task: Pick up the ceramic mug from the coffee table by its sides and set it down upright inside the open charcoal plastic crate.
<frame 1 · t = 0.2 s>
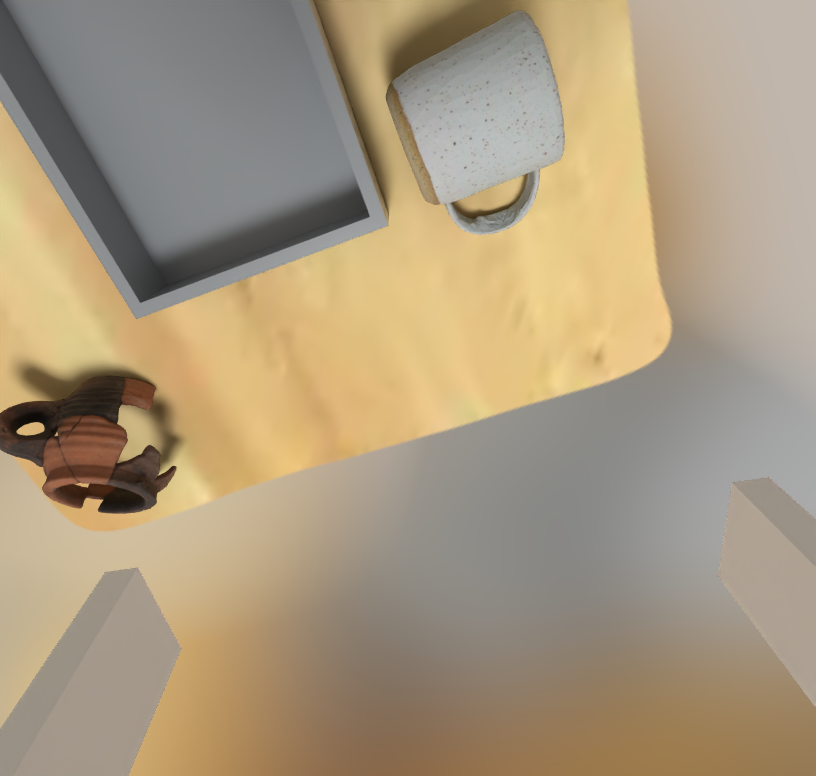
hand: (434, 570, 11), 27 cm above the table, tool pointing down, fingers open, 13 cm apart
pottery mug: (115, 422, 40), on the table
ceramic mug: (475, 142, 32), on the table
crate: (199, 92, 30), on the table
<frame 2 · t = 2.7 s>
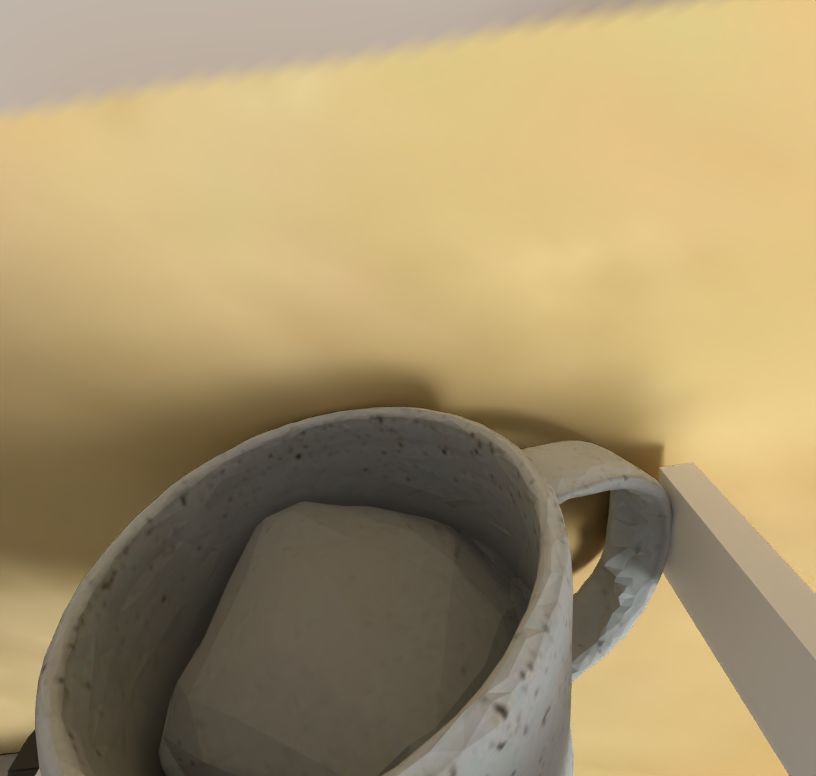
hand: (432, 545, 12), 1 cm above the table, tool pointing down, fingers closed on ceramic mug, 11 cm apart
ceramic mug: (422, 519, 13), on the table, touching gripper
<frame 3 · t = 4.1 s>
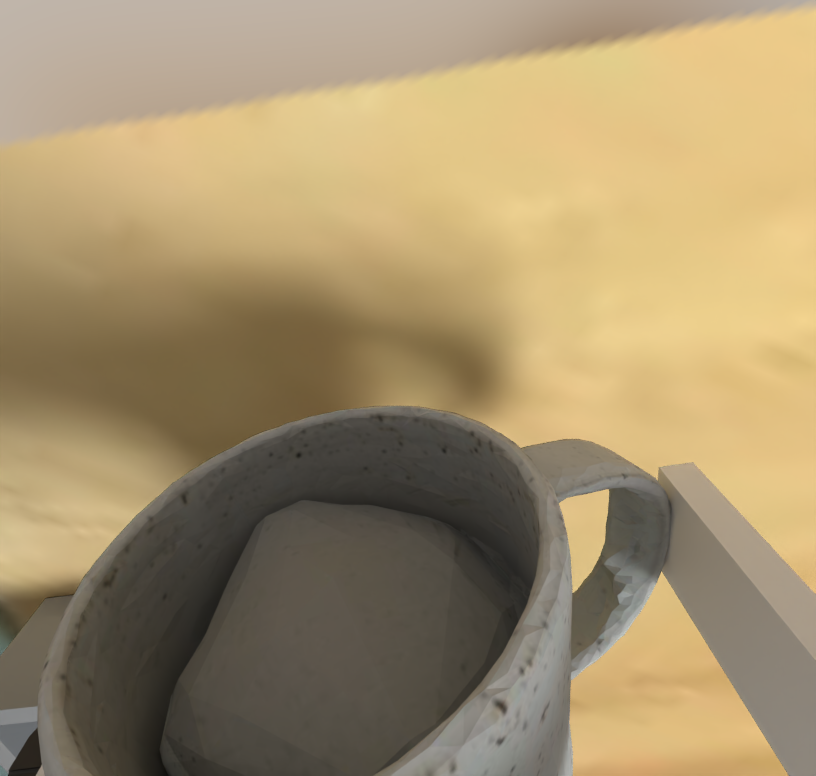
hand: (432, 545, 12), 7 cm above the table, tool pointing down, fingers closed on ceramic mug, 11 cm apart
ceramic mug: (422, 518, 13), point 6 cm above the table, touching gripper
crate: (319, 691, 25), on the table
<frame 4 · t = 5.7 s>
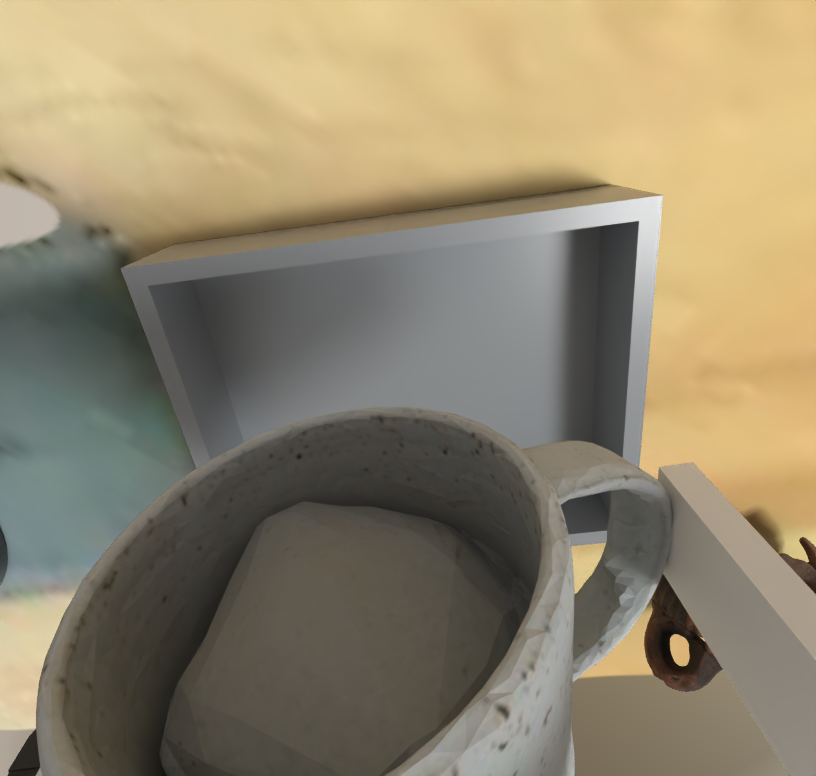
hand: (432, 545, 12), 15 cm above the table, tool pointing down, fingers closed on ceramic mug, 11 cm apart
pottery mug: (697, 564, 34), on the table
ceramic mug: (422, 519, 13), point 15 cm above the table, touching gripper
crate: (410, 376, 27), on the table
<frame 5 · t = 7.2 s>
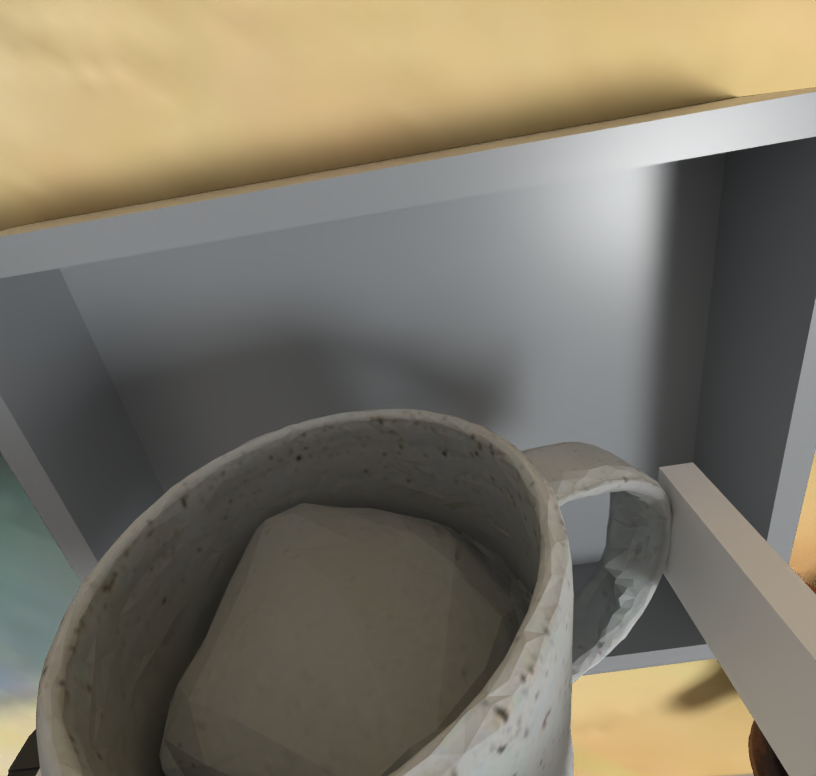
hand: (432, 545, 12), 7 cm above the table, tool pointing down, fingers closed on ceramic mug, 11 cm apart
pottery mug: (811, 637, 25), on the table
ceramic mug: (422, 520, 13), point 6 cm above the table, touching gripper
crate: (418, 411, 18), on the table
when the fingers open (3 cm above the table, at t = 8.4 s): ceramic mug drops 2 cm, resting on crate.
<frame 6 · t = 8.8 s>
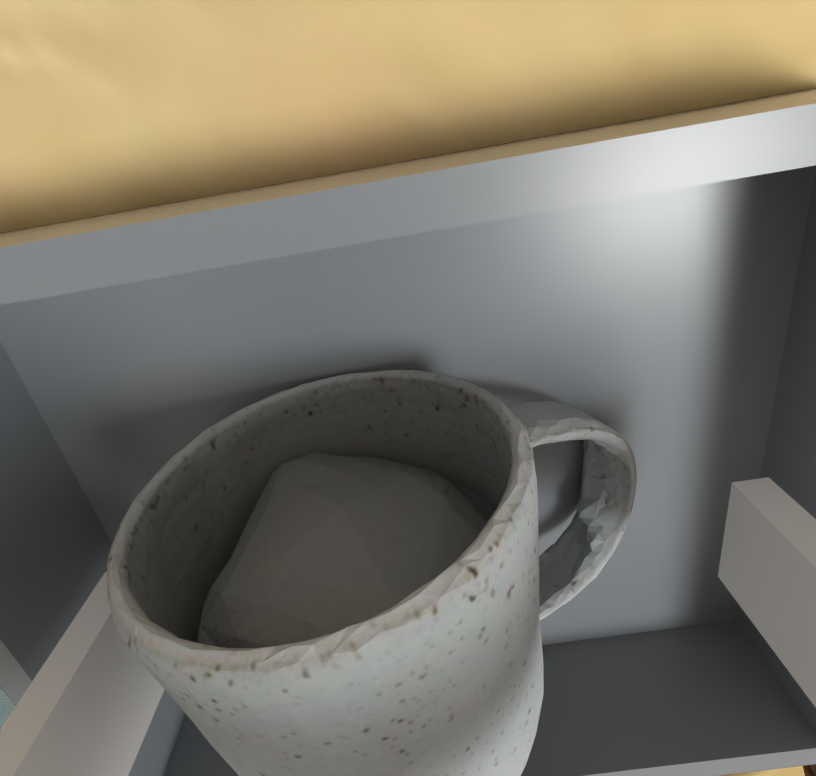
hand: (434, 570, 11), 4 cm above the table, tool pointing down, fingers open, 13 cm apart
ceramic mug: (418, 475, 14), point 1 cm above the table, touching crate
crate: (424, 463, 15), on the table
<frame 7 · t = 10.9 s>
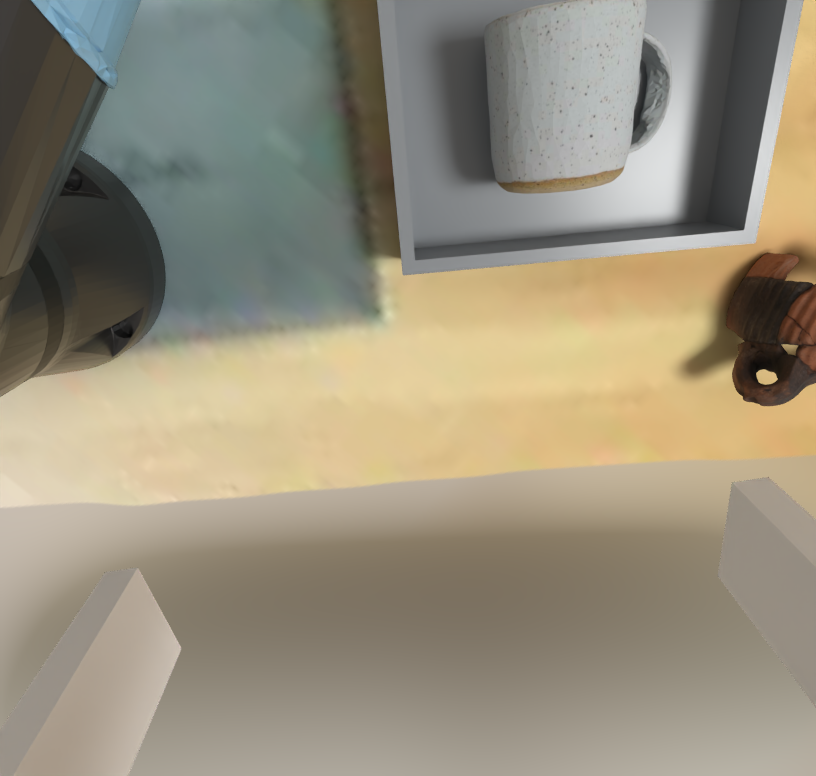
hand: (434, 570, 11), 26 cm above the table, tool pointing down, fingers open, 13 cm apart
pottery mug: (777, 316, 37), on the table
ceramic mug: (564, 99, 30), point 1 cm above the table, touching crate
crate: (558, 105, 31), on the table
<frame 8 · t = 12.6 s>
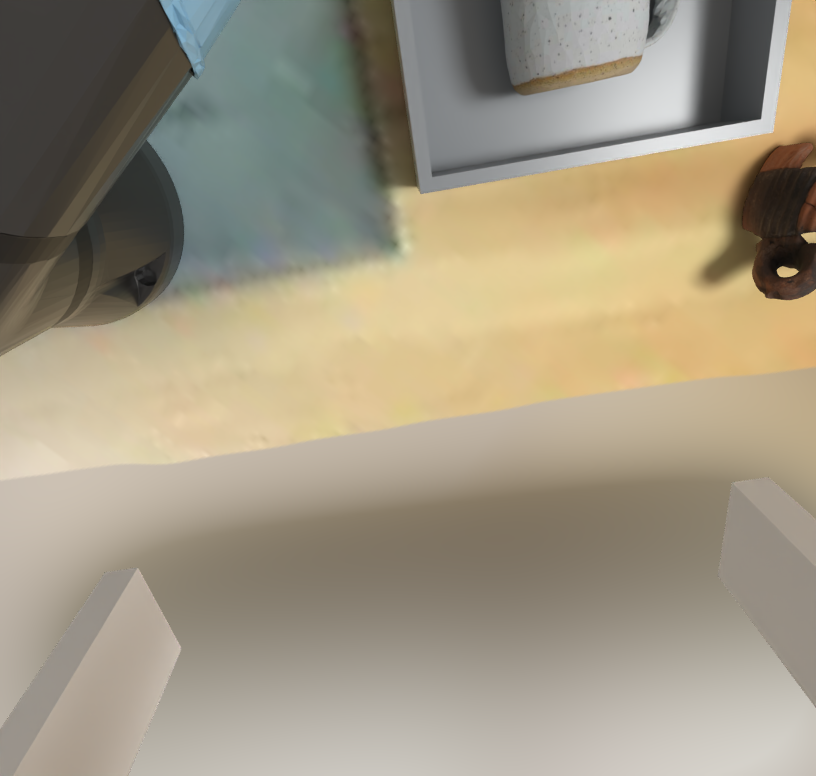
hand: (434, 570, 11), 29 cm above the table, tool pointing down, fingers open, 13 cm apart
pottery mug: (794, 213, 36), on the table
ceramic mug: (574, 2, 30), point 1 cm above the table, touching crate
crate: (564, 12, 31), on the table
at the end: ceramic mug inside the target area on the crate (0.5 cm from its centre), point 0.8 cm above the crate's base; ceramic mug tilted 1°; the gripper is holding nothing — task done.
